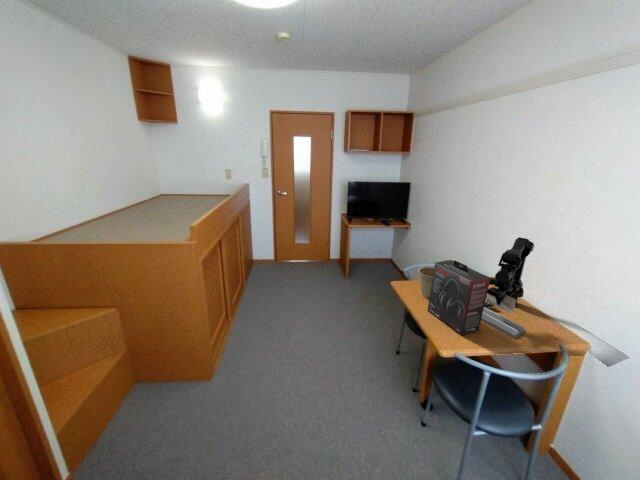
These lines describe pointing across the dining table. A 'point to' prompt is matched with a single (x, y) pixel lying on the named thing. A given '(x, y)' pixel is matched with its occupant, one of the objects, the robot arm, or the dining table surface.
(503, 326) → the rail
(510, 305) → the door panel
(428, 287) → the plant pot
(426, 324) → the dining table surface
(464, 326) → the headset box
